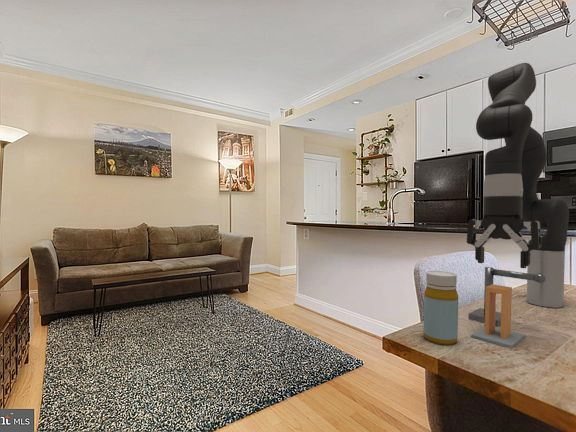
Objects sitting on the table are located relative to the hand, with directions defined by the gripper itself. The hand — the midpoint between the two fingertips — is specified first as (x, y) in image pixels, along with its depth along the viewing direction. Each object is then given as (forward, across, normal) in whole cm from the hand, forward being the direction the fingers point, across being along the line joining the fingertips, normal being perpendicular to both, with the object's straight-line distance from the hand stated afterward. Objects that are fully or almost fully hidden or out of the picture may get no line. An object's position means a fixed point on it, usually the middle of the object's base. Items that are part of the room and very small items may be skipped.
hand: (501, 265), depth 75 cm
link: (+16, 0, 0) cm, 16 cm away
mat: (+17, 0, 0) cm, 17 cm away
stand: (+17, -2, +12) cm, 21 cm away
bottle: (+17, -8, -12) cm, 22 cm away
